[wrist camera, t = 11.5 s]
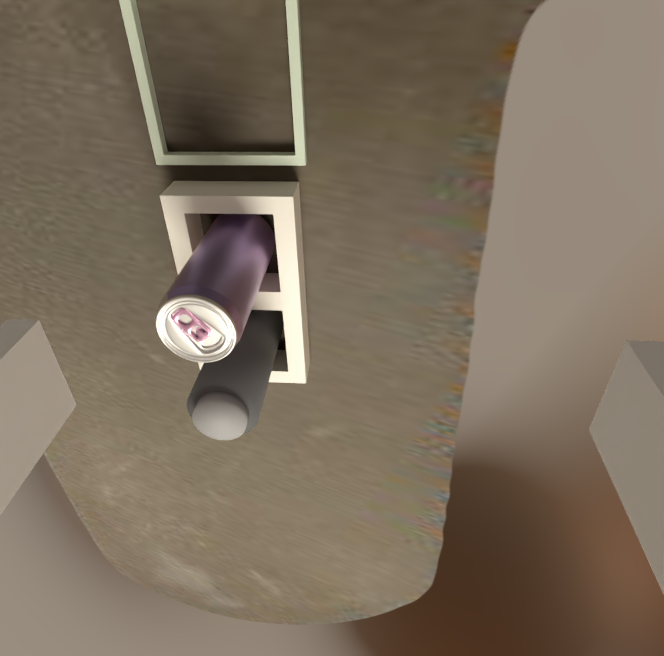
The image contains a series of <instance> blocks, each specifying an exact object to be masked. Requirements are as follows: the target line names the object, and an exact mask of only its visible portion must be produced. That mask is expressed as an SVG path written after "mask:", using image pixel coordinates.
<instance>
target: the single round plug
mask: <svg viewBox="0 0 664 656" xmlns="http://www.w3.org/2000/svg"><path fill="white" fill-rule="evenodd" d="M283 326H284V321H283V317H282V315H281V313H280V311H277V310H251V312H250V315H249V318H248V320H247V323H246V326H245V328H244V331H243V334H242V336H241V339H240V340H239V342H238V343H237V345H236V346H235V347H234V348H233V350H232V351H231V352H230V354H228V355H227V356H226V357H224V358H223V359H221V360H218V361H215V362H209V363H204V364H203V366H202V368H201V371H200V373H199V375H198V377H197V380H196V382H195V384H194V386H193V388H192V391H191V393H190V395H189V398H188V400H187V409H188V412H189V414H190V416H191V417H192V420H193V423H194V425H195V426H196V428H197V429H198V430H199V431H200V432H201V433H203V434H204V435H206V436H208V437H211V438H214V439H218V440H232V439H235V438H238V437H239V436H241V435H242V434H244V433H247V432H249V431H250V430H252V429H253V428H254V427H255V426H256V424H257V422H258V419H259V415H260V412H261V408H262V404H263V401H264V397H265V393H266V390H267V386H268V382H269V378H270V375H271V371H272V367H273V364H274V360H275V356H276V353H277V349H278V345H279V341H280V338H281V334H282V330H283Z"/></svg>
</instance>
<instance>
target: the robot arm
mask: <svg viewBox="0 0 664 656" xmlns="http://www.w3.org/2000/svg"><path fill="white" fill-rule="evenodd" d="M75 407H76V403H75V400H74V398H73V396H72V394H71V391H70V389H69V387H68V385H67V382H66V380H65V378H64V376H63V373H62V371H61V369H60V367H59V364H58V362H57V360H56V358H55V355H54V353H53V351H52V349H51V346H50V344H49V342H48V340H47V337H46V335H45V333H44V331H43V328H42V326H41V324H40V322H39V320H23V319H7V320H6V321H5V322H4V323H3V324H2V325H1V326H0V515H1V513H2V512H3V510H4V509H5V508H6V506H7V504H8V503H9V502H10V500H11V499H12V498H13V496H14V495H15V493H16V492H17V490H18V489H19V487H20V486H21V484H22V483H23V482H24V480H25V479H26V477H27V476H28V475H29V473H30V472H31V470H32V469H33V467H34V466H35V464H36V463H37V462H38V460H39V459H40V457H41V456H42V454H43V453H44V451H45V450H46V449H47V447H48V446H49V444H50V443H51V441H52V440H53V438H54V437H55V436H56V434H57V433H58V431H59V430H60V428H61V427H62V426H63V424H64V423H65V421H66V420H67V418H68V417H69V415H70V414H71V413H72V411H73V410H74V408H75ZM589 431H590V433H591V435H592V437H593V440H594V442H595V444H596V446H597V449H598V451H599V453H600V455H601V457H602V460H603V462H604V464H605V466H606V468H607V471H608V473H609V475H610V477H611V480H612V482H613V484H614V486H615V488H616V491H617V493H618V495H619V497H620V499H621V502H622V504H623V506H624V508H625V511H626V513H627V515H628V517H629V519H630V522H631V524H632V526H633V528H634V530H635V533H636V535H637V537H638V539H639V541H640V544H641V546H642V548H643V550H644V553H645V555H646V557H647V559H648V561H649V564H650V566H651V568H652V570H653V572H654V575H655V577H656V579H657V581H658V584H659V586H660V588H661V590H662V592H663V595H664V342H656V341H628V340H627V341H626V343H625V345H624V348H623V350H622V352H621V355H620V357H619V359H618V362H617V364H616V366H615V369H614V371H613V374H612V376H611V378H610V381H609V383H608V386H607V388H606V390H605V393H604V395H603V398H602V400H601V402H600V405H599V407H598V409H597V412H596V414H595V416H594V419H593V422H592V423H591V426H590V428H589Z"/></svg>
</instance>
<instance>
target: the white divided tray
mask: <svg viewBox="0 0 664 656" xmlns="http://www.w3.org/2000/svg"><path fill="white" fill-rule="evenodd" d="M160 199H161V204H162V208H163V212H164V217H165V221H166V225H167V229H168V234H169V238H170V242H171V247H172V251H173V255H174V260H175V264H176V268H177V272H178V275H179V273H180V272H181V270H182V269H183V267H184V266H185V264H186V263H187V261H188V260H189V258H190V257H191V255H192V253H193V252H194V250H195V249H196V247H197V246H198V244H199V243H200V241H201V240H202V238H203V237H204V234H203V228H202V223H201V218H200V213H204V214H273V217H274V228H275V238H276V248H277V259H278V269H279V273H265V275H264V278H263V281H262V283H261V286H260V289H259V291H258V294H257V297H256V299H255V302H254V304H253V307H252V310H277V311H283V321H284V332H285V342H286V350H277V353H276V356H275V360H274V364H273V367H272V371H271V375H270V378H269V382H284V383H306V381H307V375H308V370H309V364H310V354H309V338H308V322H307V305H306V289H305V273H304V256H303V240H302V224H301V207H300V191H299V182H272V181H173V182H172V183H171V185H170V186H169V187H168V188H167V189H166V190H165V191H164V192H163V193H162V194H161V195H160ZM198 363H199V367H200V371H201V368H202V366H203V364H204V363H200V362H198Z"/></svg>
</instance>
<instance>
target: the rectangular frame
mask: <svg viewBox="0 0 664 656" xmlns="http://www.w3.org/2000/svg"><path fill="white" fill-rule="evenodd" d="M119 2H120V7H121V11H122V15H123V20H124V24H125V29H126V33H127V37H128V42H129V46H130V50H131V55H132V59H133V64H134V68H135V72H136V77H137V81H138V86H139V90H140V94H141V99H142V103H143V108H144V112H145V116H146V121H147V125H148V130H149V134H150V138H151V143H152V147H153V152H154V156H155V160H156V165H299V166H306V164H307V147H306V127H305V107H304V87H303V68H302V48H301V28H300V8H299V0H286V14H287V30H288V46H289V62H290V77H291V93H292V109H293V125H294V141H295V152H168V150H167V145H166V140H165V136H164V131H163V126H162V121H161V117H160V112H159V107H158V102H157V98H156V93H155V88H154V83H153V79H152V74H151V69H150V64H149V60H148V55H147V50H146V46H145V41H144V36H143V31H142V27H141V22H140V17H139V12H138V8H137V3H136V0H119Z"/></svg>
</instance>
